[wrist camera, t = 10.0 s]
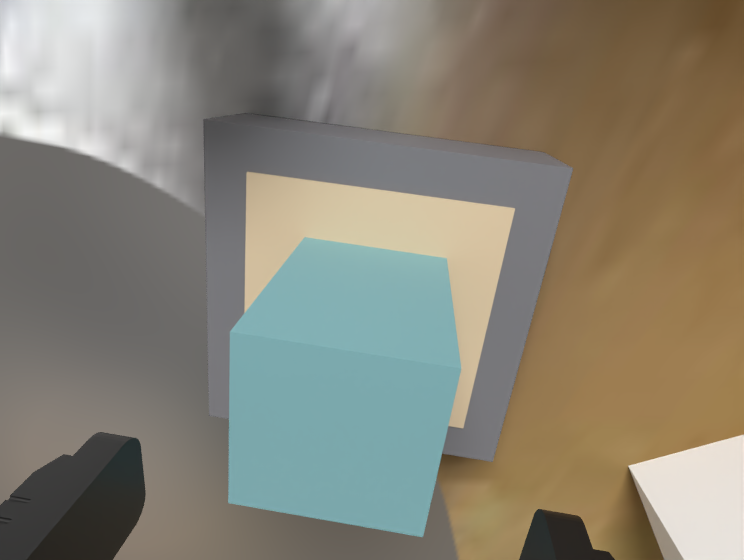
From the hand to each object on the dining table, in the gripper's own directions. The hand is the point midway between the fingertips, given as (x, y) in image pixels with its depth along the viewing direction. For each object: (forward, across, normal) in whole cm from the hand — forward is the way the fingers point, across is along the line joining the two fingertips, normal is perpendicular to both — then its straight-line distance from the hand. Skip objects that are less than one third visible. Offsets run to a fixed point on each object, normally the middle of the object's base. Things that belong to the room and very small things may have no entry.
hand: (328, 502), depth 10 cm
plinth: (+13, 0, 0) cm, 13 cm away
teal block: (+9, 0, 0) cm, 9 cm away
